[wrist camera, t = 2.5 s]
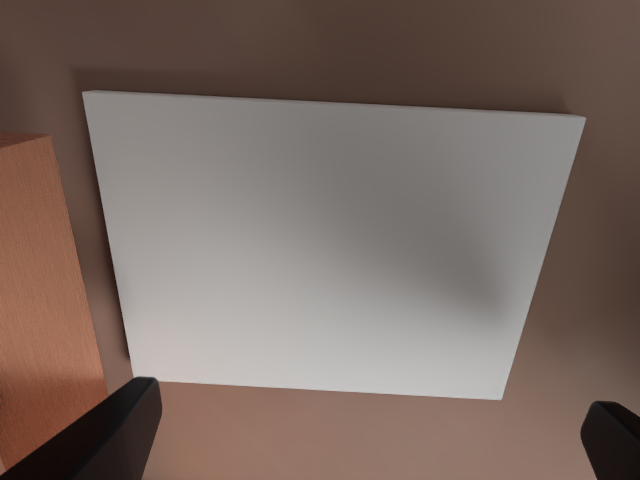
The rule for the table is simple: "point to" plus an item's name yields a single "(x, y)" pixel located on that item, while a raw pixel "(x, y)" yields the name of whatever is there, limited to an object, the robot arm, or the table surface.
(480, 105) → the table surface
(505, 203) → the mat
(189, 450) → the table surface
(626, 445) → the robot arm
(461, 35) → the table surface
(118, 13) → the table surface
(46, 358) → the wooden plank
